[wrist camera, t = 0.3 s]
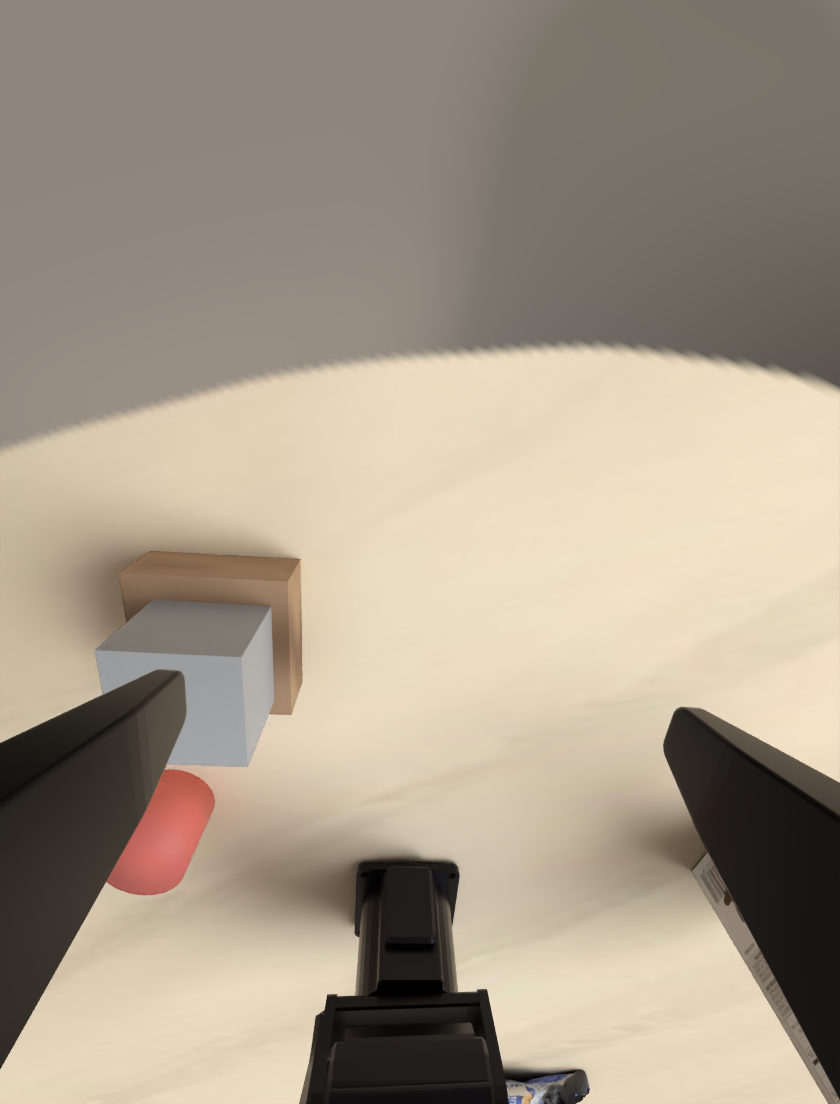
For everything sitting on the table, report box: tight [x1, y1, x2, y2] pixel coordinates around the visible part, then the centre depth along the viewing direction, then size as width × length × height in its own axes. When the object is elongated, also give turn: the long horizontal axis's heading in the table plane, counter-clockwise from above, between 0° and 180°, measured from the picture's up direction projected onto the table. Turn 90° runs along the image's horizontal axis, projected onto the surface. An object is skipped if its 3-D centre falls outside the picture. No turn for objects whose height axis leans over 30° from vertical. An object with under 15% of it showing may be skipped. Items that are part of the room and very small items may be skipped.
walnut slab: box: [119, 551, 302, 715], centre depth 22 cm, size 7×7×3 cm
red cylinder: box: [106, 770, 215, 895], centre depth 25 cm, size 4×4×4 cm
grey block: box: [95, 600, 274, 767], centre depth 19 cm, size 5×5×4 cm
